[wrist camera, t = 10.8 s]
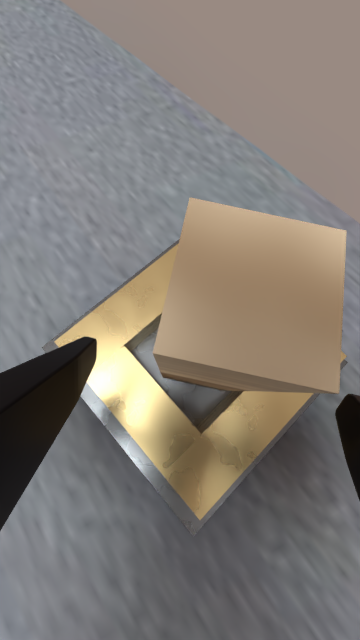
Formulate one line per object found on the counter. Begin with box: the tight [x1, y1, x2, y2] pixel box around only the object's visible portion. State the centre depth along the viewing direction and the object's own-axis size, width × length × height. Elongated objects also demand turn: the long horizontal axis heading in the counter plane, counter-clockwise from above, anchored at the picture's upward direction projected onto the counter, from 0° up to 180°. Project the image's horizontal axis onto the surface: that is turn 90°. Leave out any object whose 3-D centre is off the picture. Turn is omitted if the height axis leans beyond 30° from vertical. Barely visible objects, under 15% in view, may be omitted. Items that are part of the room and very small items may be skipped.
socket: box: [42, 239, 348, 536], centre depth 18 cm, size 16×16×4 cm
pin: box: [153, 198, 346, 394], centre depth 13 cm, size 4×4×13 cm
